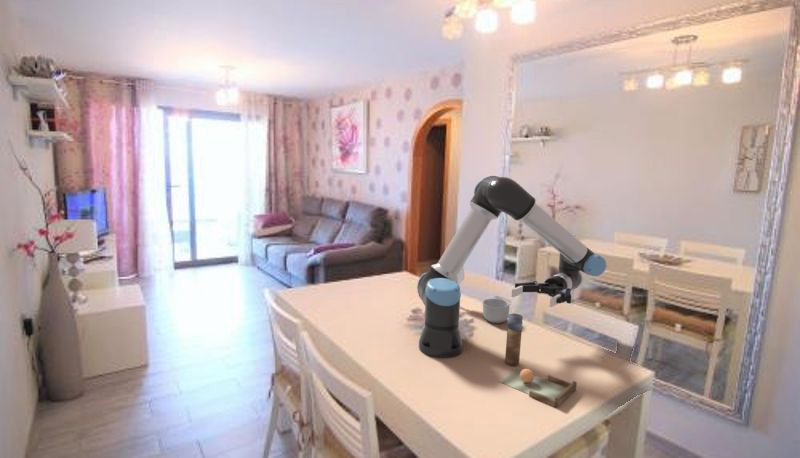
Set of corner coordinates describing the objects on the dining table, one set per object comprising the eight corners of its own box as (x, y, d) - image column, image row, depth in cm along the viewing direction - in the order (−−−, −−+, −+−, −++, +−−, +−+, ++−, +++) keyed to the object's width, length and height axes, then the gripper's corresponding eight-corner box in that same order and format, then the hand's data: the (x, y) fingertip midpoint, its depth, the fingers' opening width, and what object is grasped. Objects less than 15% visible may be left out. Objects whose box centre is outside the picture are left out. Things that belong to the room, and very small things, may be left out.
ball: (520, 385, 121) (521, 372, 120) (518, 378, 125) (519, 365, 124) (534, 386, 121) (535, 373, 120) (532, 379, 125) (533, 366, 124)
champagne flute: (446, 306, 187) (448, 254, 183) (450, 302, 193) (452, 251, 190) (461, 309, 185) (463, 256, 181) (464, 304, 191) (467, 253, 187)
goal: (497, 382, 122) (497, 374, 122) (518, 368, 132) (518, 360, 131) (557, 408, 110) (558, 399, 110) (575, 390, 119) (576, 382, 119)
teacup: (509, 326, 166) (510, 307, 165) (481, 324, 168) (482, 305, 167) (507, 314, 179) (508, 297, 178) (481, 312, 181) (482, 294, 180)
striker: (506, 366, 133) (509, 318, 130) (504, 359, 137) (507, 313, 135) (520, 367, 132) (523, 319, 130) (517, 360, 137) (521, 314, 134)
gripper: (591, 303, 146) (567, 318, 131) (525, 288, 163) (497, 300, 148) (593, 282, 145) (569, 295, 130) (526, 269, 162) (498, 279, 147)
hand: (531, 297), depth 139 cm, fingers open, 13 cm apart
